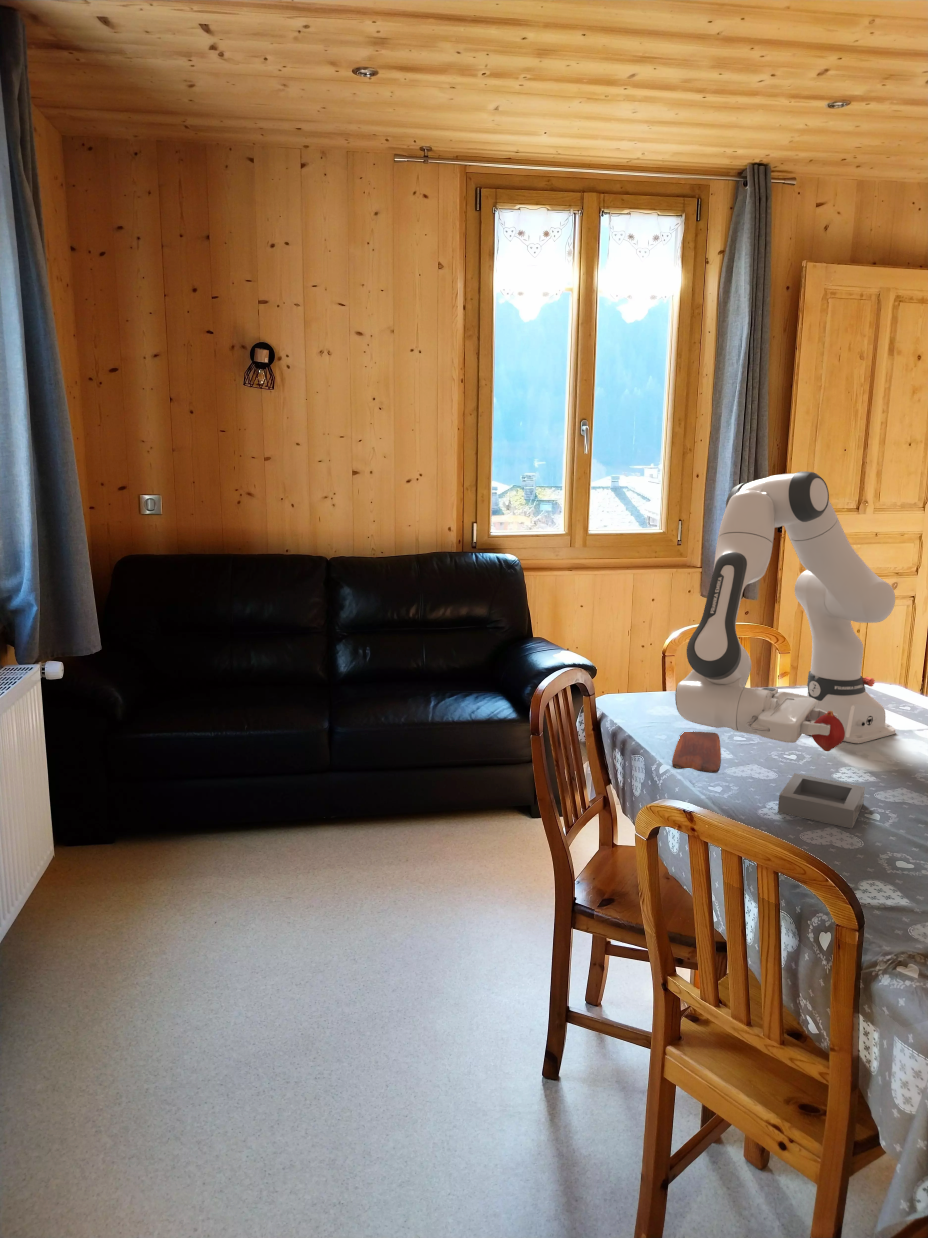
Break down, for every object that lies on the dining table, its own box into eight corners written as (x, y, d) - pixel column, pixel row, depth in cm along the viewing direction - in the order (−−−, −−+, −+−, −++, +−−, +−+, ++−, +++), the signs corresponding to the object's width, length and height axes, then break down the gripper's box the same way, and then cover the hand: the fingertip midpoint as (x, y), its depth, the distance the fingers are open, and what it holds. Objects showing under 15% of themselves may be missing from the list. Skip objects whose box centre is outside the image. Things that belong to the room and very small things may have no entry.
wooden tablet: (719, 776, 185) (719, 768, 185) (670, 770, 188) (670, 763, 188) (723, 736, 210) (723, 729, 210) (680, 731, 213) (680, 725, 213)
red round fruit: (804, 746, 168) (807, 705, 167) (833, 745, 169) (836, 705, 167) (818, 756, 163) (822, 715, 161) (848, 756, 163) (852, 714, 162)
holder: (777, 812, 166) (779, 795, 165) (793, 789, 177) (794, 773, 176) (851, 828, 159) (853, 810, 159) (863, 804, 170) (864, 787, 169)
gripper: (745, 710, 162) (824, 723, 155) (771, 684, 179) (844, 695, 172) (742, 743, 164) (821, 757, 156) (769, 714, 181) (841, 726, 173)
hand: (833, 724), depth 164 cm, fingers closed on red round fruit, 6 cm apart
